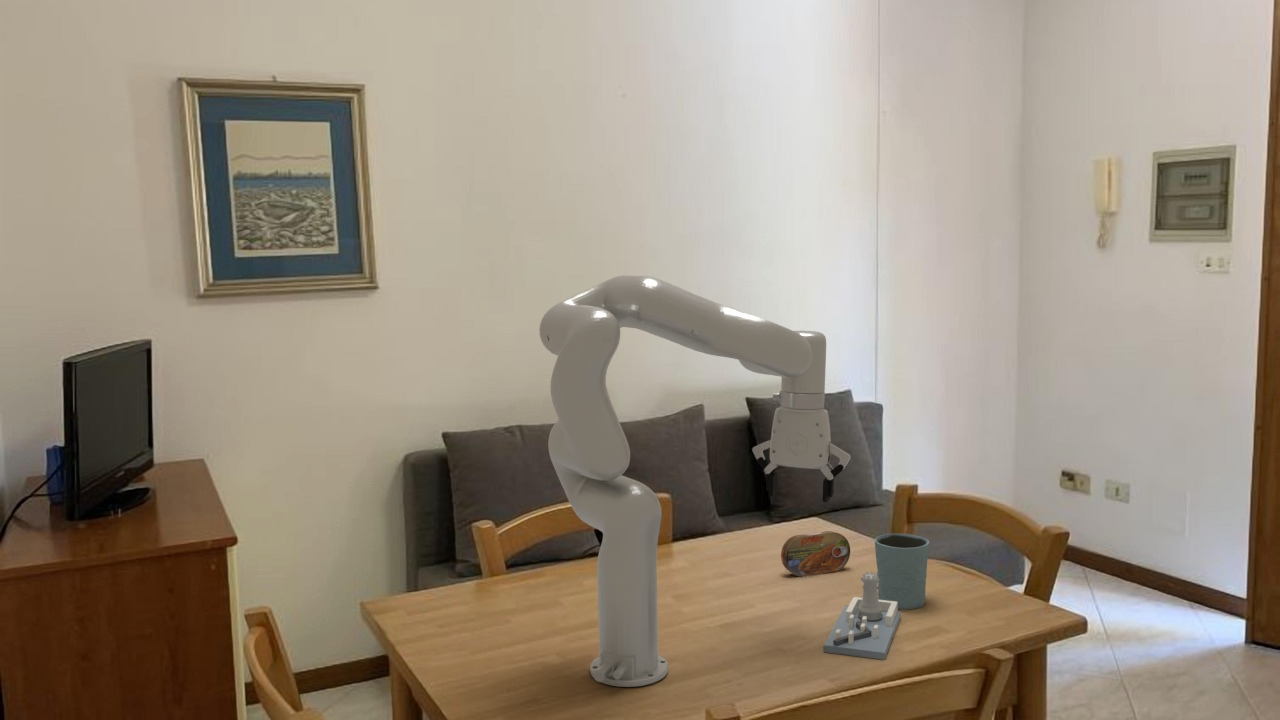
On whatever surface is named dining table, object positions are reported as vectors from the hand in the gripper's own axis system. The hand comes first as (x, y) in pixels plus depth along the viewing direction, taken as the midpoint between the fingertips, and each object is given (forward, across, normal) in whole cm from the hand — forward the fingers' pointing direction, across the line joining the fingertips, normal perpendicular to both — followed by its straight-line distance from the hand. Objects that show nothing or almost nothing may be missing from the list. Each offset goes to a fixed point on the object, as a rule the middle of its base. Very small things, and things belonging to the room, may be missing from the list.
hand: (799, 497), depth 181 cm
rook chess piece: (+22, +12, +7) cm, 26 cm away
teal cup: (+23, +16, +20) cm, 34 cm away
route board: (+23, +12, +1) cm, 26 cm away
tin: (+23, -4, +32) cm, 40 cm away
